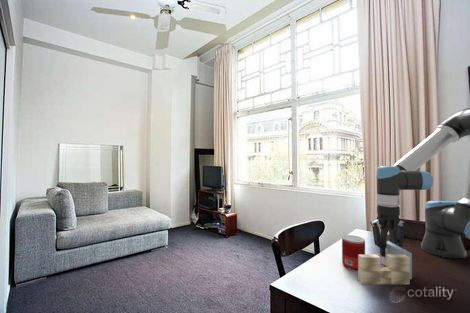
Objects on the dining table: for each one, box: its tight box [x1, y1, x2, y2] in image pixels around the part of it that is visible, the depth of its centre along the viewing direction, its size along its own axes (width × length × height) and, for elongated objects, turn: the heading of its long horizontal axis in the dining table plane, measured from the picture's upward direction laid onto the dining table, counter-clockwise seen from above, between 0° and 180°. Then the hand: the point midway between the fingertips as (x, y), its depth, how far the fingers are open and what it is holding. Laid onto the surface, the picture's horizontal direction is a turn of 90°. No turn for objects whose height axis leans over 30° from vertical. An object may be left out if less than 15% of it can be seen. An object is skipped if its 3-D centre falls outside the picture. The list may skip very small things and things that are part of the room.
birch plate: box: [357, 253, 411, 285], centre depth 78 cm, size 16×2×9 cm, turn 90°
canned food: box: [341, 234, 366, 272], centre depth 89 cm, size 8×8×11 cm
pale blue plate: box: [386, 240, 413, 280], centre depth 86 cm, size 12×2×9 cm, turn 0°
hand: (388, 264), depth 90 cm, fingers closed on pale blue plate, 2 cm apart
